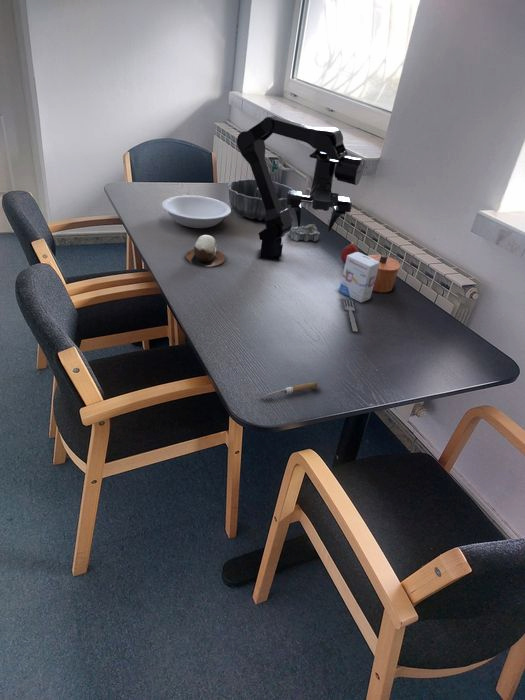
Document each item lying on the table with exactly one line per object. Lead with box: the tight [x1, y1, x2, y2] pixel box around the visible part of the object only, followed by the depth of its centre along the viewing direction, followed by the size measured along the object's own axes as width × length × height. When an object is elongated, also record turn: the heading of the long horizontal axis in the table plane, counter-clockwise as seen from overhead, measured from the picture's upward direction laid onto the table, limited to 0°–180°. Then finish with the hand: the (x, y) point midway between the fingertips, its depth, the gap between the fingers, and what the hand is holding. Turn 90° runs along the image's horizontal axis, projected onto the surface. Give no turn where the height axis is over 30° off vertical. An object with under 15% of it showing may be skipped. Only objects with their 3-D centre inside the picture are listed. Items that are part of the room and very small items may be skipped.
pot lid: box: [367, 254, 402, 271], centre depth 145 cm, size 11×11×3 cm
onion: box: [340, 242, 360, 264], centre depth 157 cm, size 6×6×8 cm
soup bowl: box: [161, 194, 232, 229], centre depth 172 cm, size 24×24×7 cm
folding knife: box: [260, 381, 319, 399], centre depth 100 cm, size 14×2×2 cm, turn 115°
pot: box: [372, 269, 399, 293], centre depth 148 cm, size 10×10×7 cm
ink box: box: [338, 251, 380, 304], centre depth 139 cm, size 9×5×12 cm, turn 45°
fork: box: [342, 299, 359, 334], centre depth 132 cm, size 17×3×1 cm, turn 178°
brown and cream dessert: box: [185, 234, 226, 267], centre depth 150 cm, size 12×10×10 cm
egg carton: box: [287, 223, 321, 242], centre depth 174 cm, size 11×8×4 cm
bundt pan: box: [226, 178, 294, 222], centre depth 188 cm, size 26×26×10 cm
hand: (313, 229), depth 147 cm, fingers open, 9 cm apart
